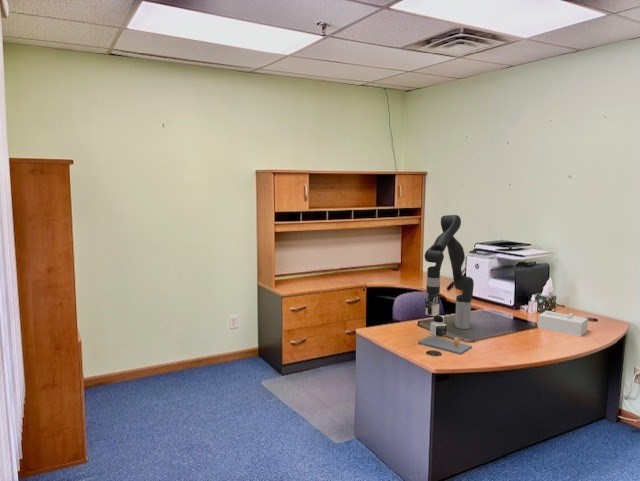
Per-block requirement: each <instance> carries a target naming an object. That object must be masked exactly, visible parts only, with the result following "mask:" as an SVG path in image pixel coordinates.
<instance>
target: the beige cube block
mask: <svg viewBox="0 0 640 481" xmlns="http://www.w3.org/2000/svg"><path fill="white" fill-rule="evenodd" d="M430 303H431V302H430ZM427 305H428V304H427ZM430 306H431V304H430ZM425 315H427V316H429V315H428V308H426V307H425ZM436 315H440V303H439V304H436V303H434V304H433V305H432V314H431V315H430V316H432V317H434V316H436Z"/></svg>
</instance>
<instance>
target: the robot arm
mask: <svg viewBox="0 0 640 481" xmlns="http://www.w3.org/2000/svg"><path fill="white" fill-rule="evenodd" d="M461 225H462V219H461V217H460V216H459V215H457V214H448V215H442V216H441V217H440V226H441V230H442V233H441V234H439V235H438V236H437V237H436V238H435V240H434V243H433V244H432V245H431V246H430V247H429V248H428V249H427V250H426V251H425V253H424V260H425V262H427V263H433V264H434V263H435V265H433V266H429V267H427V276H426V290H425V291H426V294H427V297H425V298H424V303H425V309H426V308H428V315H427V316H431V314H432V305H433V304H434V303H436V304H439V305H440V302H441V294H440V293H441V292H440V291H441V268H442V265H443V261H444V260H445V259H444V258H445V255H444V251H445V250H446V248H447V253H448V256H449V260H450V264H451V265H450V266H451V269H452V278H453V284H454V287H455V288H456V289H457V290H460V291H462V294H458V295H457V296H456V298H455V317H454V319H455V322H454V327H455V328H457V329H460V330H461V329H462V330H468V329H470V328H471V313H472V311H471V310H472V298H473V297H474V296H473V295H474V283H475V282H474V279H473V278H472V277H471V276H466V275H463V271H462V266H463V264H464V261H465V260H466V258H465V251H464V247H463V244H461V243H460V242H459V240H458V239H456V237H455V234H456V233H457V232H458V231H459V230H460V228H461ZM430 302H431V303H430ZM427 304H428V305H427ZM430 304H431V306H430Z"/></svg>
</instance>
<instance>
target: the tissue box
mask: <svg viewBox="0 0 640 481" xmlns="http://www.w3.org/2000/svg"><path fill="white" fill-rule="evenodd" d="M537 319H538V320H537V328H538V329H541V330H546V331H552V332H556V333H561V334H565V335H571V336H576V337H582V336H583V335H585V333H587V332H588V325H589V324H588V323H589V318H588V317H583V316H576V315H574V313H572V312H570V313H569V314H566V313H560V312H556V311H551V310H545V311H543V312H542V313H540V314H539V315H538V318H537Z"/></svg>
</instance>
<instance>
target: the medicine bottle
mask: <svg viewBox="0 0 640 481" xmlns="http://www.w3.org/2000/svg"><path fill="white" fill-rule="evenodd" d="M444 321H445V317H444V316H443V315H440V314H438V315H436V316H433V321H432V322H431V321H430V328H429V329H430V330H429V331H430V333H429V334H431V336H433V337H437V338H441V337H447V326H448V325H447V324H446V323H445V322H444Z"/></svg>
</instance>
